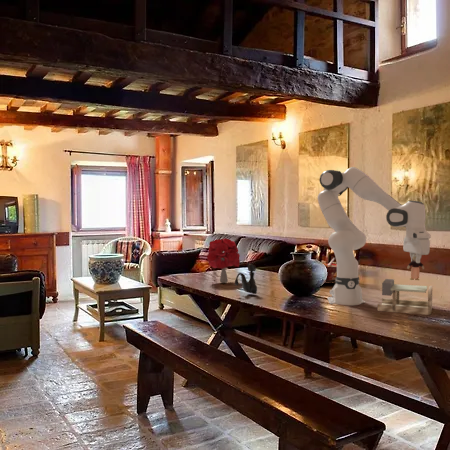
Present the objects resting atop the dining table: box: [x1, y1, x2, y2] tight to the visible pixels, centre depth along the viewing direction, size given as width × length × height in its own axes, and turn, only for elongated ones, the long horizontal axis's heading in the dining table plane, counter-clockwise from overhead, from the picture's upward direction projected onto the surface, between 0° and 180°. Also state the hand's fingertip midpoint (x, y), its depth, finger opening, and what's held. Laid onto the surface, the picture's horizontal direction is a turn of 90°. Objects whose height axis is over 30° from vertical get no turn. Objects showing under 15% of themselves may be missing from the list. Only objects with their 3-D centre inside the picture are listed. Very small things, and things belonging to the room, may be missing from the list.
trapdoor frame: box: [377, 285, 433, 316], centre depth 240 cm, size 24×18×11 cm
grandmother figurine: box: [406, 253, 425, 281], centre depth 238 cm, size 8×4×13 cm, turn 75°
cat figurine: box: [234, 262, 258, 295], centre depth 287 cm, size 10×14×18 cm
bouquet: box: [206, 237, 241, 284], centre depth 333 cm, size 22×24×30 cm
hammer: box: [381, 278, 428, 296], centre depth 240 cm, size 20×14×6 cm
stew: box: [323, 257, 337, 285], centre depth 326 cm, size 28×24×16 cm
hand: (415, 262), depth 238 cm, fingers closed on grandmother figurine, 3 cm apart
